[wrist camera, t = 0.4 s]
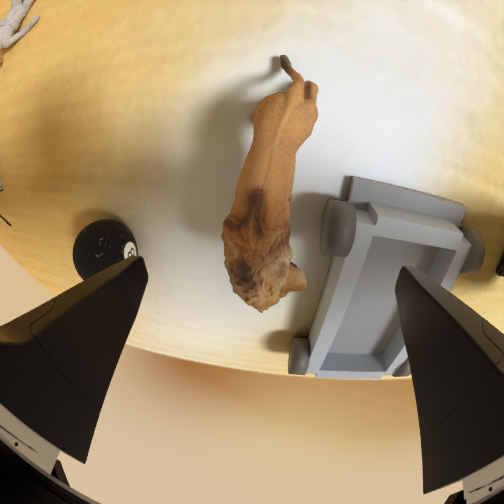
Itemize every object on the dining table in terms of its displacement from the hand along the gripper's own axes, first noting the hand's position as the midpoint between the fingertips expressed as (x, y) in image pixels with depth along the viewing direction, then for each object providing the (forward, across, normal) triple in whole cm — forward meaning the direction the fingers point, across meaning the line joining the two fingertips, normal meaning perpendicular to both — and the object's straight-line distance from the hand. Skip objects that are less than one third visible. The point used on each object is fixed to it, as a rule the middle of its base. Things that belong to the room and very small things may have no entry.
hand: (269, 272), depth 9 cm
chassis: (+12, -10, +12) cm, 19 cm away
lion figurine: (+13, 0, -1) cm, 13 cm away
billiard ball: (+12, +15, +6) cm, 20 cm away
